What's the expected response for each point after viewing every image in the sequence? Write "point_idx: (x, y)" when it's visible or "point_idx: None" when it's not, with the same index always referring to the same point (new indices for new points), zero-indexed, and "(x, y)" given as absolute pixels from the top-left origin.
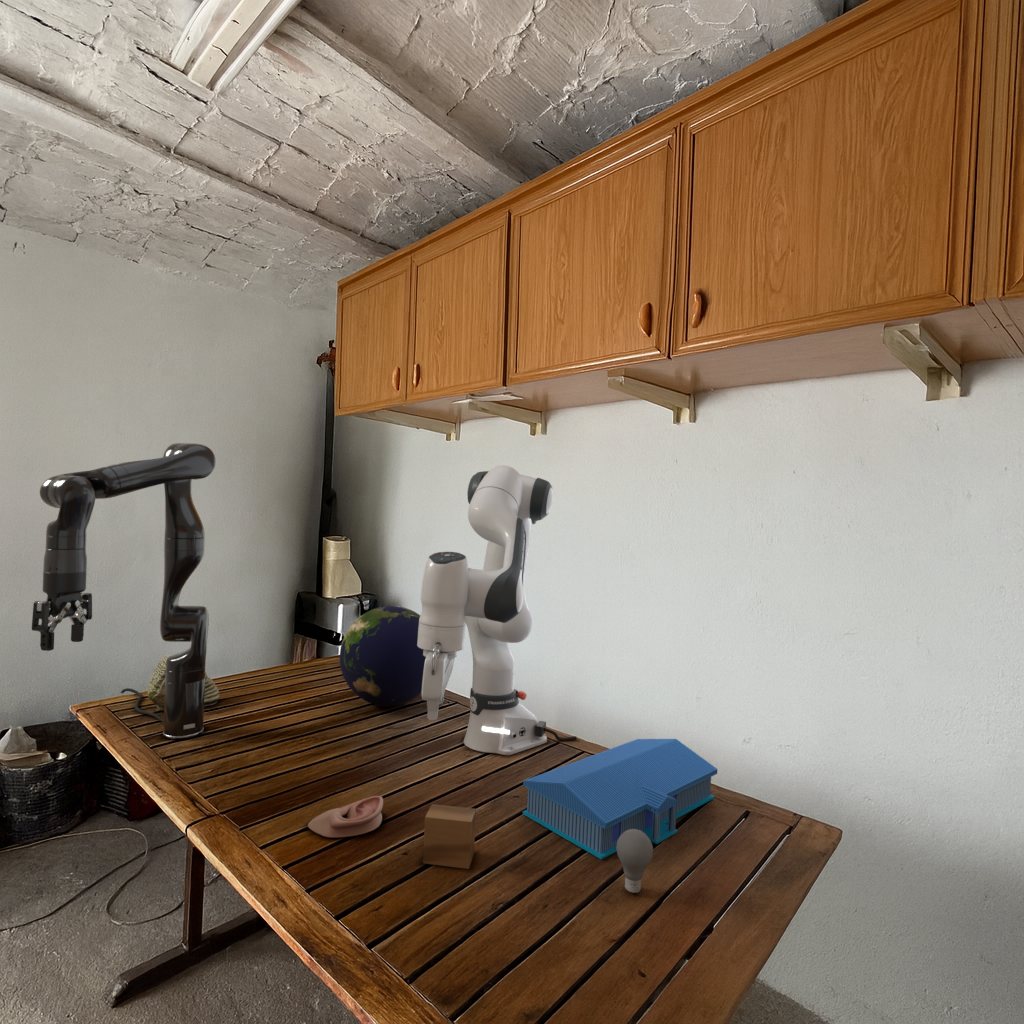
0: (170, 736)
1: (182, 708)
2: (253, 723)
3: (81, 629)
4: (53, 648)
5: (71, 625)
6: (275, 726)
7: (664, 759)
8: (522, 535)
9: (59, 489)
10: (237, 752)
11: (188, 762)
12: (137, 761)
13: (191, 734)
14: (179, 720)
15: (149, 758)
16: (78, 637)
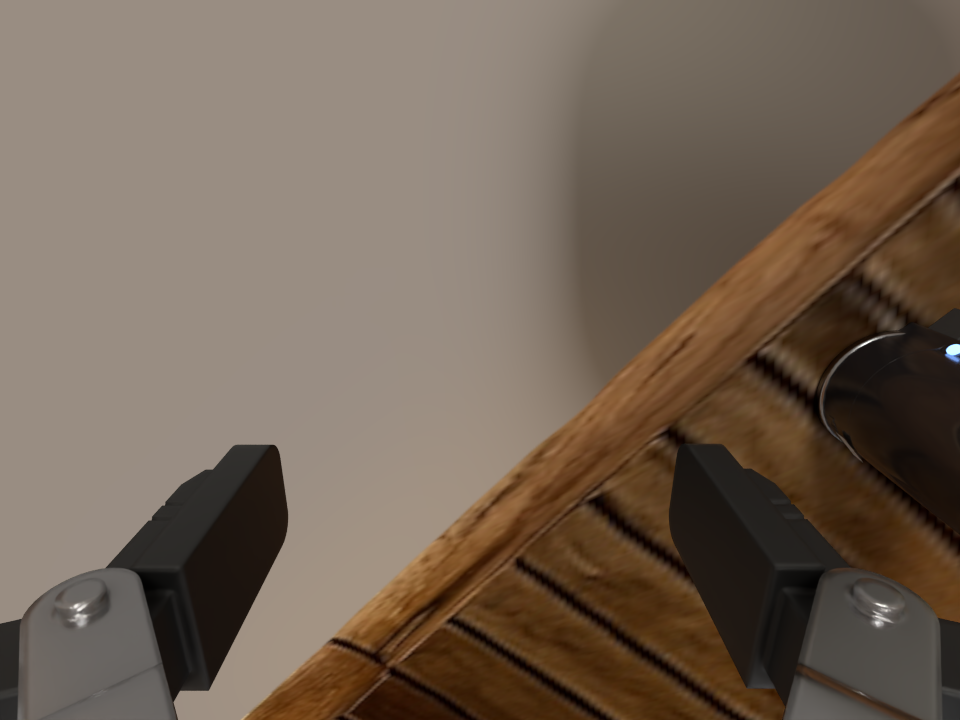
0: (824, 383)
1: (887, 464)
2: (948, 542)
3: (727, 635)
4: (281, 540)
5: (765, 561)
6: None
7: None
8: None
9: None
10: None
11: (641, 505)
12: (643, 376)
13: (836, 436)
14: (856, 434)
15: (666, 396)
16: (685, 539)
